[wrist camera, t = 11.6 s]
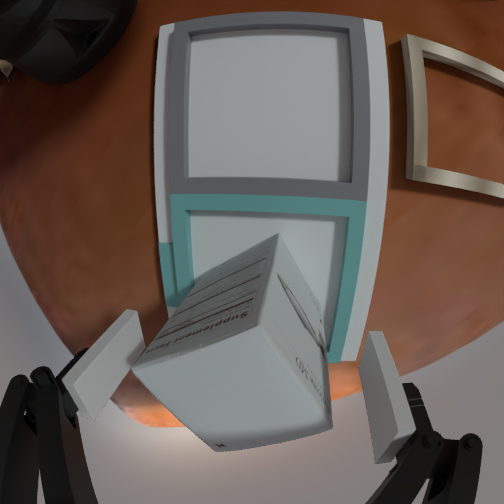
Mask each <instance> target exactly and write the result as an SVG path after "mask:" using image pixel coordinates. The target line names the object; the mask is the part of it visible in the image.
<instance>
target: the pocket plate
mask: <svg viewBox="0 0 504 504" xmlns="http://www.w3.org/2000/svg"><path fill="white" fill-rule="evenodd" d="M388 165H389V88H388V73H387V61H386V51H385V42H384V34H383V27H382V22H379V21H374V20H368V19H363V18H357V17H350V16H343V15H334V14H324V13H310V12H251V13H237V14H227V15H218V16H211V17H204V18H198V19H192V20H186V21H181V22H176V23H172V24H168V25H163V26H160V33H159V42H158V53H157V65H156V81H155V104H154V170H155V194H156V211H157V224H158V236H159V253H160V262H161V271H162V279H163V287H164V294H165V301H166V306H167V311H168V317H169V318H170V317H171V316H172V315H173V313H174V312H175V310H176V309H177V308H178V307H179V305H180V304H181V303H182V301H183V300H184V299H185V298H186V296H187V295H188V294H189V292H190V291H191V290H192V289H193V287H194V286H195V285H196V284H197V283H198V281H199V280H200V279H201V278H202V276H203V275H204V274H205V273H206V272H208V271H209V270H211V269H213V268H215V267H217V266H219V265H221V264H222V263H224V262H226V261H228V260H230V259H232V258H234V257H235V256H237V255H239V254H241V253H243V252H245V251H247V250H248V249H250V248H252V247H254V246H256V245H258V244H260V243H261V242H263V241H265V240H267V239H269V238H271V237H272V236H274V235H276V234H277V233H280V234H281V236H282V238H283V240H284V242H285V243H286V245H287V247H288V249H289V251H290V253H291V255H292V256H293V258H294V260H295V262H296V264H297V266H298V267H299V269H300V271H301V273H302V275H303V276H304V278H305V280H306V282H307V283H308V285H309V287H310V288H311V290H312V292H313V293H314V295H315V297H316V298H317V300H318V301H319V303H320V305H321V309H322V316H323V324H324V333H325V342H326V351H327V362H328V363H340V361H356V358H357V354H358V351H359V347H360V343H361V339H362V336H363V332H364V328H365V324H366V319H367V315H368V311H369V306H370V302H371V297H372V292H373V287H374V282H375V276H376V271H377V265H378V259H379V253H380V246H381V239H382V232H383V224H384V215H385V205H386V195H387V182H388Z"/></svg>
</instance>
